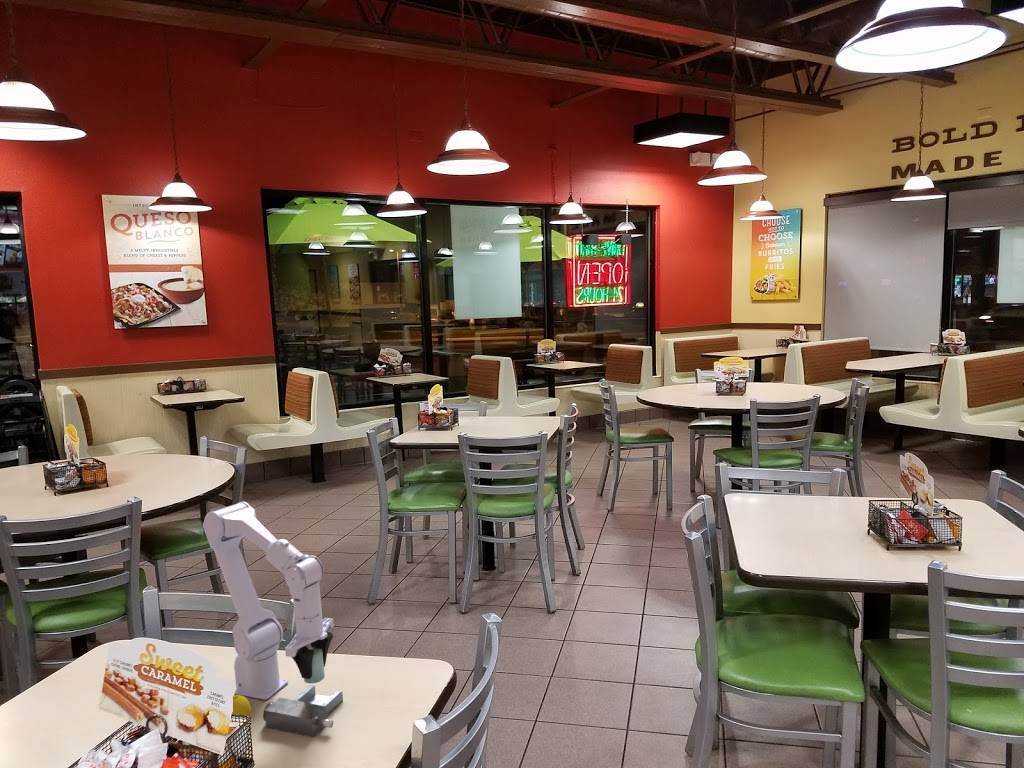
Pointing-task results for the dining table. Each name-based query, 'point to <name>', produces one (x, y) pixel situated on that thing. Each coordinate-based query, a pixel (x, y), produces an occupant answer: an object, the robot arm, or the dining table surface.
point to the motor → (302, 712)
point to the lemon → (241, 706)
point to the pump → (316, 666)
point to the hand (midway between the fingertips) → (313, 672)
